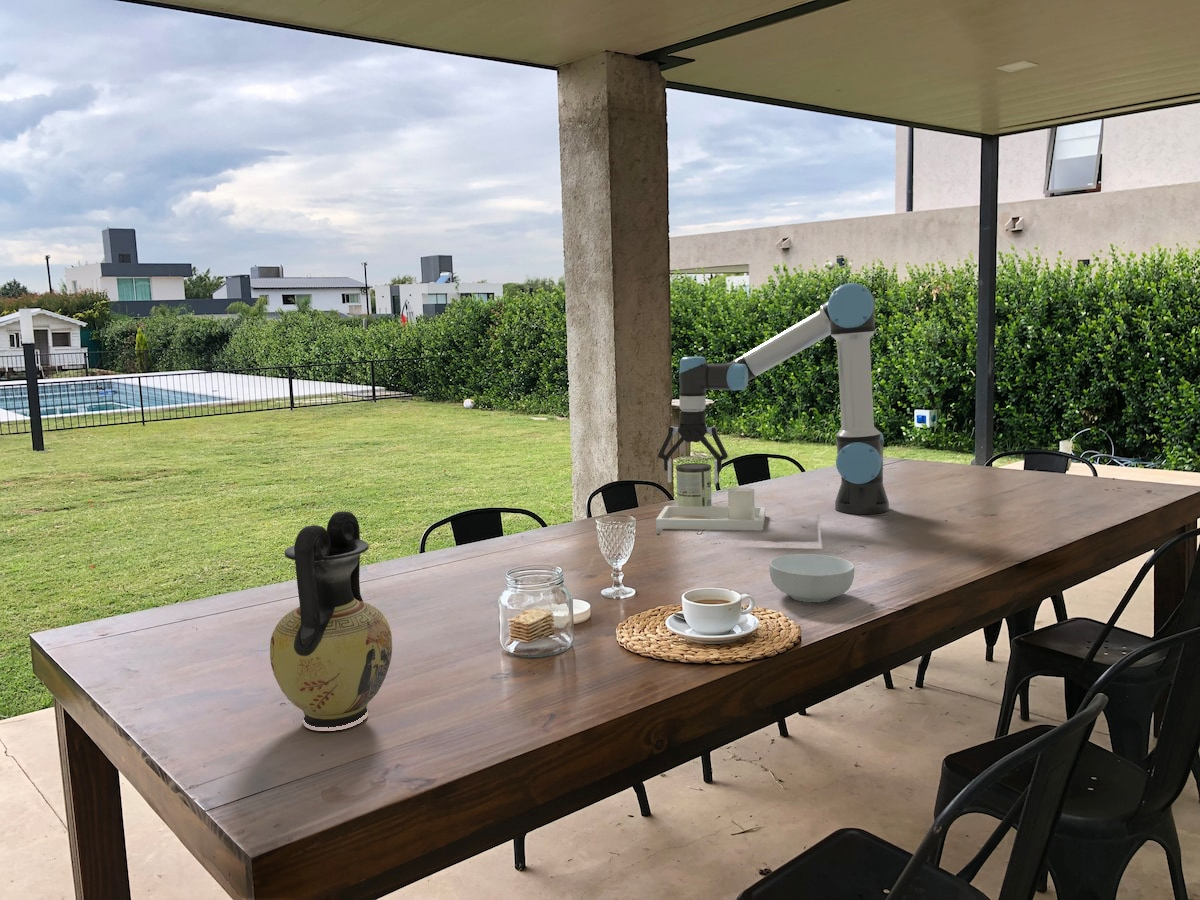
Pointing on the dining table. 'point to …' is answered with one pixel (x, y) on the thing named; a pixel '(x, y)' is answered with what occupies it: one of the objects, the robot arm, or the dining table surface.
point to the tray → (705, 519)
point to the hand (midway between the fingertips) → (692, 482)
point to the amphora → (330, 629)
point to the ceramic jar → (741, 504)
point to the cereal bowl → (811, 576)
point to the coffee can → (693, 484)
